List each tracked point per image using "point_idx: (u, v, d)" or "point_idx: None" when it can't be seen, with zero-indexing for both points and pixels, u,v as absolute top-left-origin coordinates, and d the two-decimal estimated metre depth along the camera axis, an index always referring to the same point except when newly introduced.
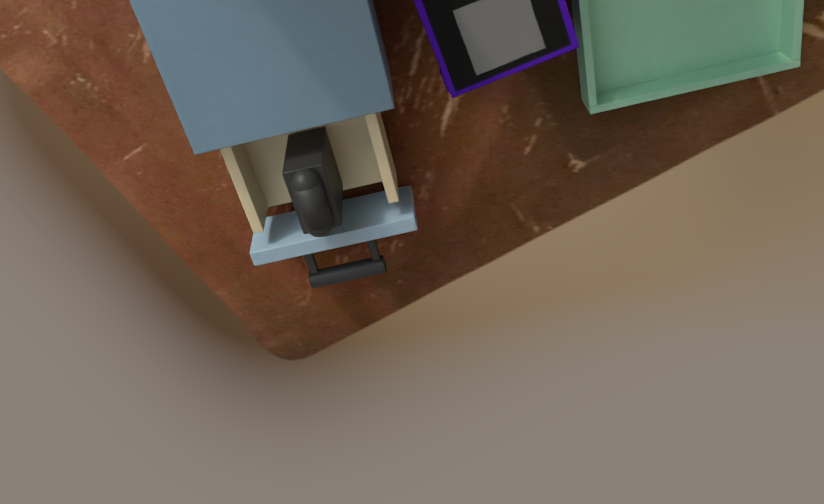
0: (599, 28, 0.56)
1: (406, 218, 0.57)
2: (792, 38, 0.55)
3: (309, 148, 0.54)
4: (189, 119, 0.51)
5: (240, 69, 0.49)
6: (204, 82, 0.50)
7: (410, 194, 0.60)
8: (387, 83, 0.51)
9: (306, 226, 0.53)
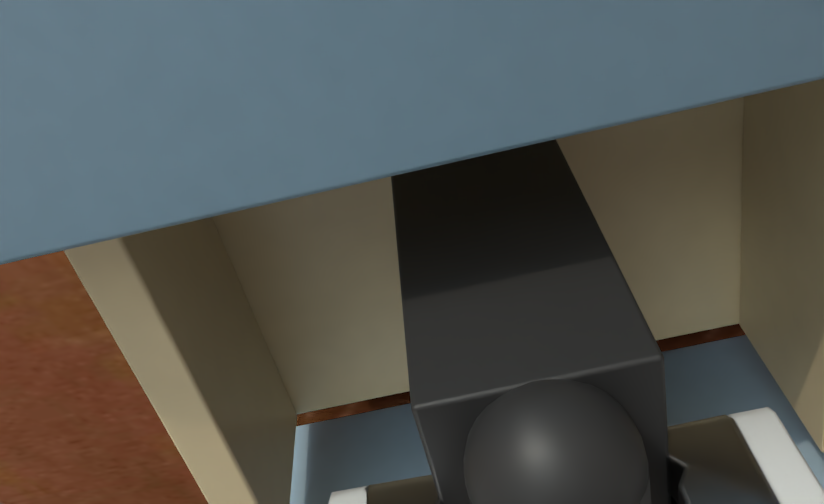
0: None
1: None
2: None
3: (523, 231, 0.11)
4: None
5: None
6: None
7: None
8: None
9: None
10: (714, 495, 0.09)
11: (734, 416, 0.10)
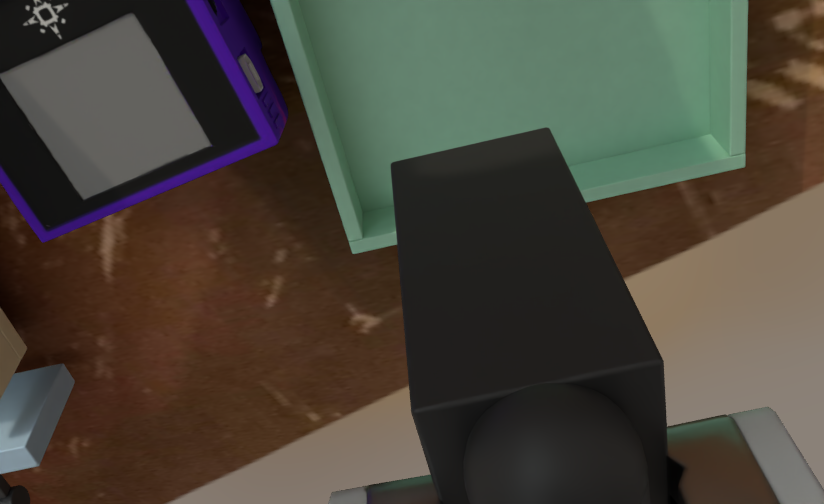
0: (357, 96, 0.29)
1: (11, 448, 0.31)
2: (728, 115, 0.28)
3: (524, 234, 0.11)
4: None
5: None
6: None
7: (50, 387, 0.33)
8: None
9: None
10: (714, 496, 0.09)
11: (734, 416, 0.10)
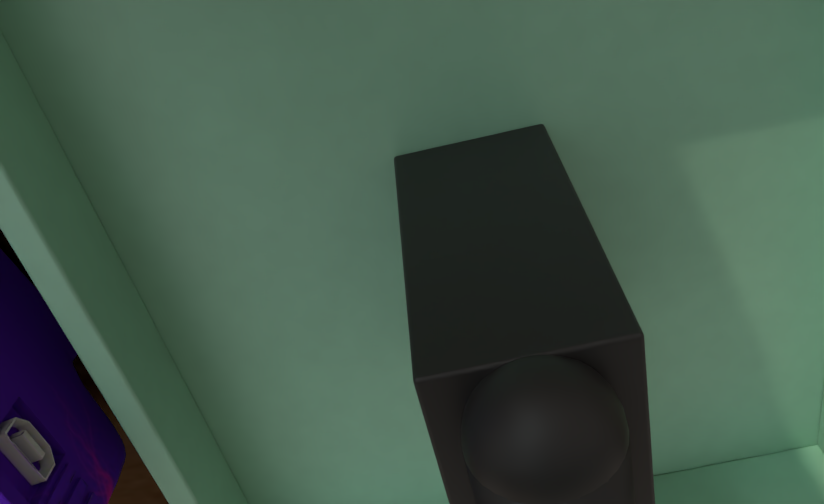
0: (251, 409, 0.18)
1: None
2: None
3: (518, 222, 0.12)
4: None
5: None
6: None
7: None
8: None
9: None
10: None
11: None
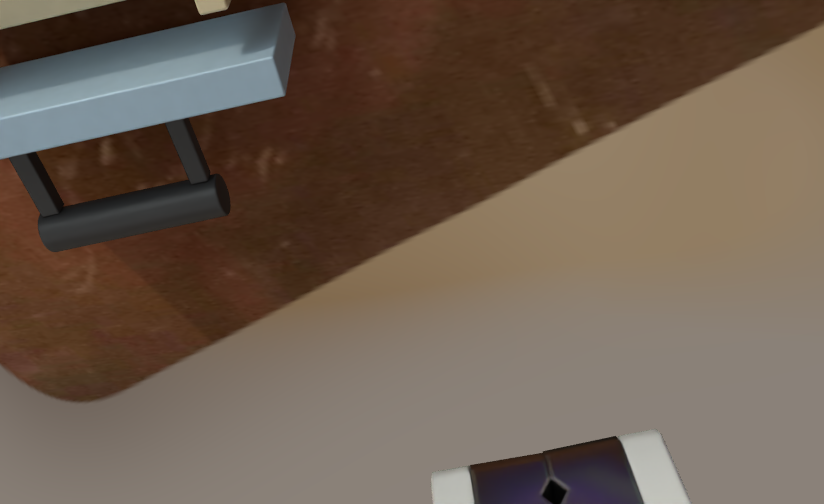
0: None
1: (252, 60, 0.21)
2: None
3: None
4: None
5: None
6: None
7: (279, 17, 0.24)
8: None
9: None
10: None
11: (622, 438, 0.10)
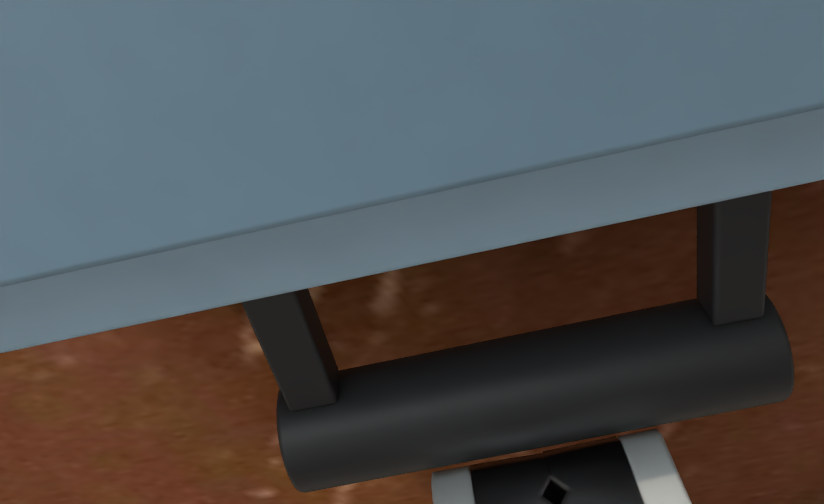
0: None
1: None
2: None
3: None
4: None
5: None
6: None
7: None
8: None
9: None
10: None
11: (622, 438, 0.10)
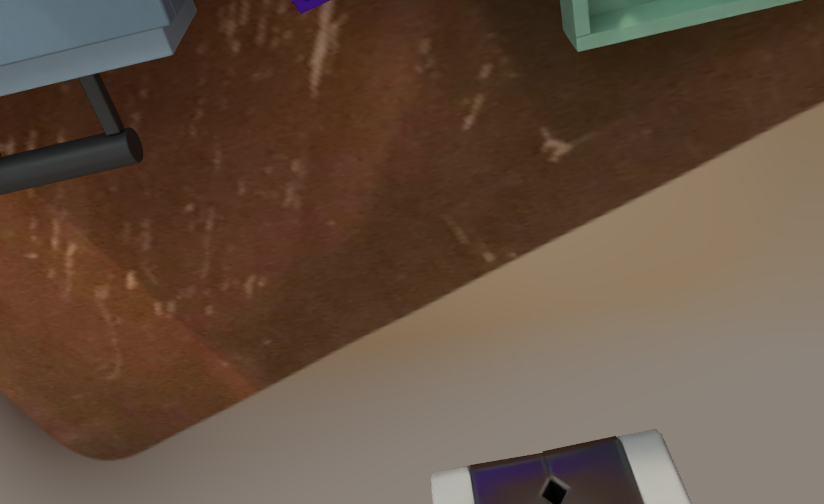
0: None
1: None
2: None
3: None
4: None
5: None
6: None
7: None
8: None
9: None
10: None
11: (622, 438, 0.10)
